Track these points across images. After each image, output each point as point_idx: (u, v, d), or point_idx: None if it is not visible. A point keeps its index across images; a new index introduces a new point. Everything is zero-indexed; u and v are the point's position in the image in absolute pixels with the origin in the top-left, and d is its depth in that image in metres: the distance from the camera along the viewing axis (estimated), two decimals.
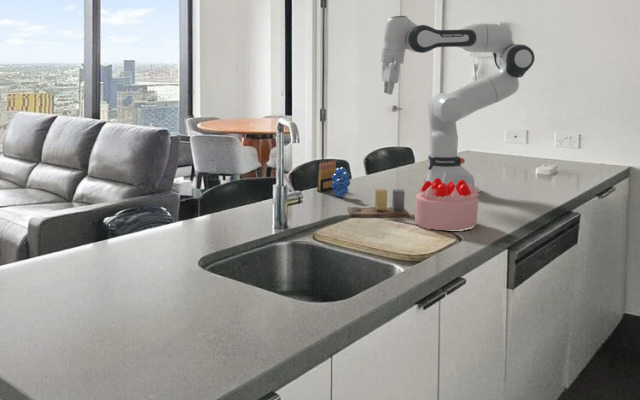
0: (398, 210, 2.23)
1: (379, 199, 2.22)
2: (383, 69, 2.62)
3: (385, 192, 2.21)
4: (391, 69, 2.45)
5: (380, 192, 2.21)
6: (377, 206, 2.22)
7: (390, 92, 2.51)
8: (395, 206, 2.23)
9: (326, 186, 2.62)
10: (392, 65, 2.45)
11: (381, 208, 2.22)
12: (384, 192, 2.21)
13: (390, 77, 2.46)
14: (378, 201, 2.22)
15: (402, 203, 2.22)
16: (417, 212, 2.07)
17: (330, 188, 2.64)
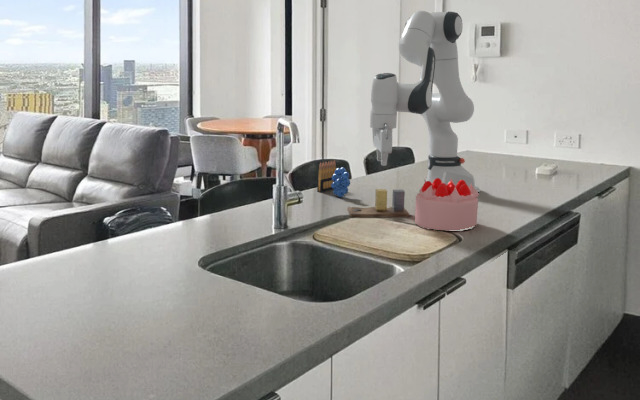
0: (398, 210, 2.23)
1: (379, 199, 2.22)
2: (374, 133, 2.27)
3: (385, 192, 2.21)
4: (382, 138, 2.09)
5: (380, 192, 2.21)
6: (377, 206, 2.22)
7: (384, 163, 2.15)
8: (395, 206, 2.23)
9: (326, 186, 2.62)
10: (383, 133, 2.10)
11: (381, 208, 2.22)
12: (384, 192, 2.21)
13: (382, 147, 2.10)
14: (378, 201, 2.22)
15: (402, 203, 2.22)
16: (417, 212, 2.07)
17: (330, 188, 2.64)
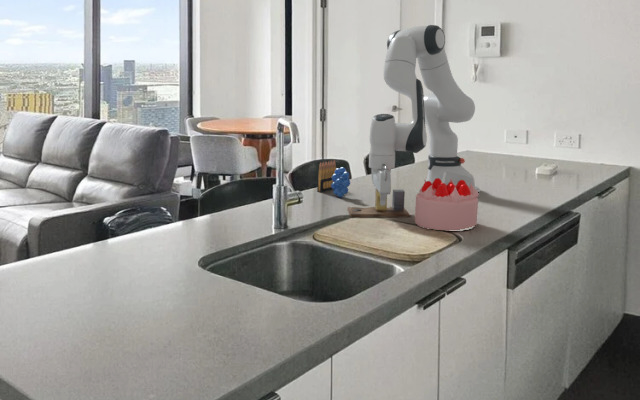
0: (398, 210, 2.23)
1: (379, 199, 2.22)
2: (373, 172, 2.29)
3: None
4: (381, 180, 2.12)
5: None
6: (377, 206, 2.22)
7: (383, 203, 2.18)
8: (395, 206, 2.23)
9: (326, 186, 2.62)
10: (382, 175, 2.12)
11: (381, 208, 2.22)
12: None
13: (381, 189, 2.13)
14: (378, 201, 2.22)
15: (402, 203, 2.22)
16: (417, 212, 2.07)
17: (330, 188, 2.64)
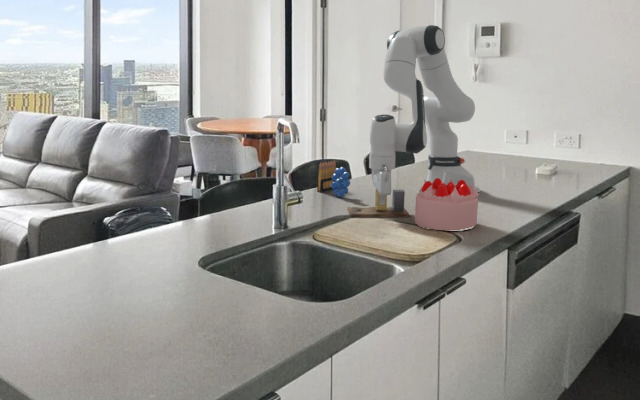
0: (398, 210, 2.23)
1: None
2: (373, 172, 2.29)
3: None
4: (381, 180, 2.12)
5: None
6: (377, 206, 2.22)
7: (382, 202, 2.21)
8: (395, 206, 2.23)
9: (326, 186, 2.62)
10: (382, 176, 2.12)
11: (381, 208, 2.22)
12: None
13: (381, 189, 2.13)
14: (378, 201, 2.22)
15: (402, 203, 2.22)
16: (417, 212, 2.07)
17: (330, 188, 2.64)
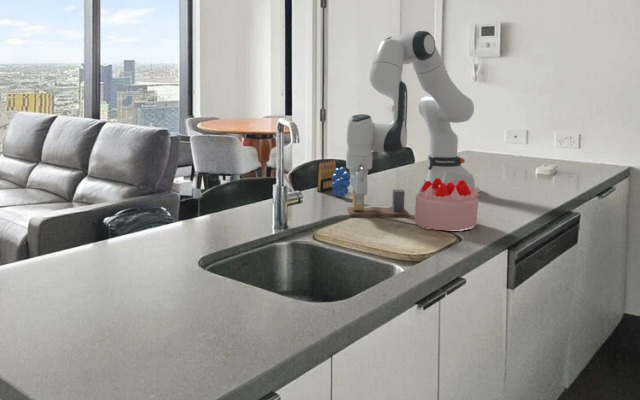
0: (398, 210, 2.23)
1: None
2: (351, 172, 2.29)
3: None
4: (358, 180, 2.12)
5: None
6: (354, 206, 2.22)
7: (359, 202, 2.20)
8: (395, 206, 2.23)
9: (326, 186, 2.62)
10: (358, 176, 2.12)
11: (358, 208, 2.22)
12: None
13: (357, 189, 2.12)
14: (355, 201, 2.21)
15: (402, 203, 2.22)
16: (417, 212, 2.07)
17: (330, 188, 2.64)
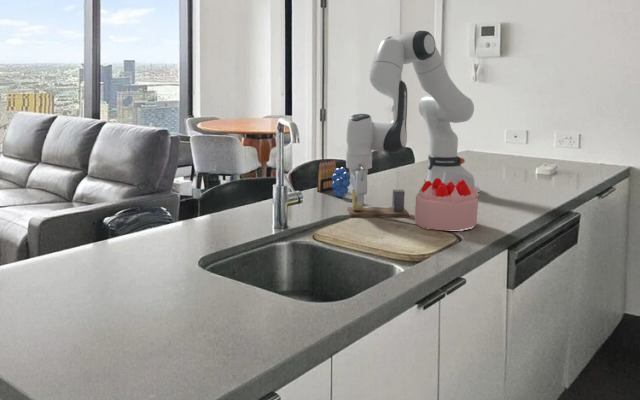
0: (398, 210, 2.23)
1: (355, 199, 2.21)
2: None
3: None
4: (357, 180, 2.12)
5: None
6: (354, 206, 2.22)
7: (360, 203, 2.18)
8: (395, 206, 2.23)
9: (326, 186, 2.62)
10: (358, 175, 2.12)
11: (358, 208, 2.22)
12: None
13: (357, 189, 2.12)
14: (355, 201, 2.21)
15: (402, 203, 2.22)
16: (417, 212, 2.07)
17: (330, 188, 2.64)
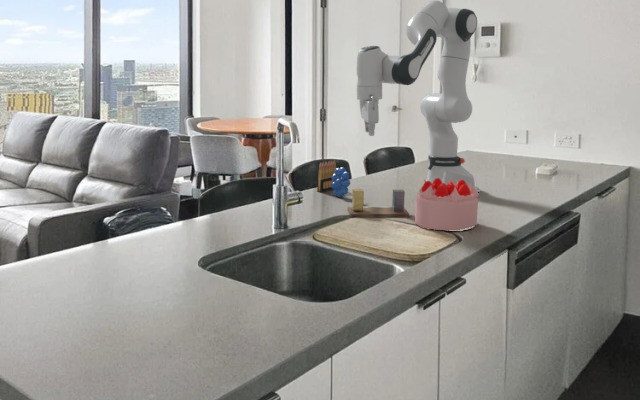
0: (398, 210, 2.23)
1: (355, 199, 2.21)
2: (361, 106, 2.34)
3: (362, 192, 2.21)
4: (369, 109, 2.17)
5: (357, 192, 2.21)
6: (354, 206, 2.22)
7: (372, 133, 2.23)
8: (395, 206, 2.23)
9: (326, 186, 2.62)
10: (369, 104, 2.17)
11: (358, 208, 2.22)
12: (361, 192, 2.21)
13: (369, 118, 2.17)
14: (355, 201, 2.21)
15: (402, 203, 2.22)
16: (417, 212, 2.07)
17: (330, 188, 2.64)
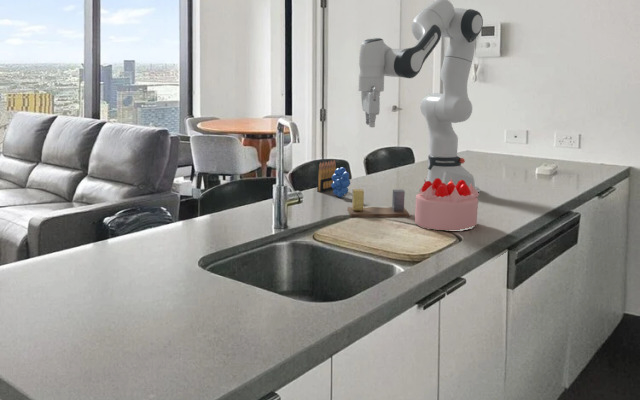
0: (398, 210, 2.23)
1: (355, 199, 2.21)
2: (362, 98, 2.35)
3: (362, 192, 2.21)
4: (370, 100, 2.18)
5: (357, 192, 2.21)
6: (354, 206, 2.22)
7: (372, 125, 2.24)
8: (395, 206, 2.23)
9: (326, 186, 2.62)
10: (371, 95, 2.18)
11: (358, 208, 2.22)
12: (361, 192, 2.21)
13: (370, 109, 2.18)
14: (355, 201, 2.21)
15: (402, 203, 2.22)
16: (417, 212, 2.07)
17: (330, 188, 2.64)
